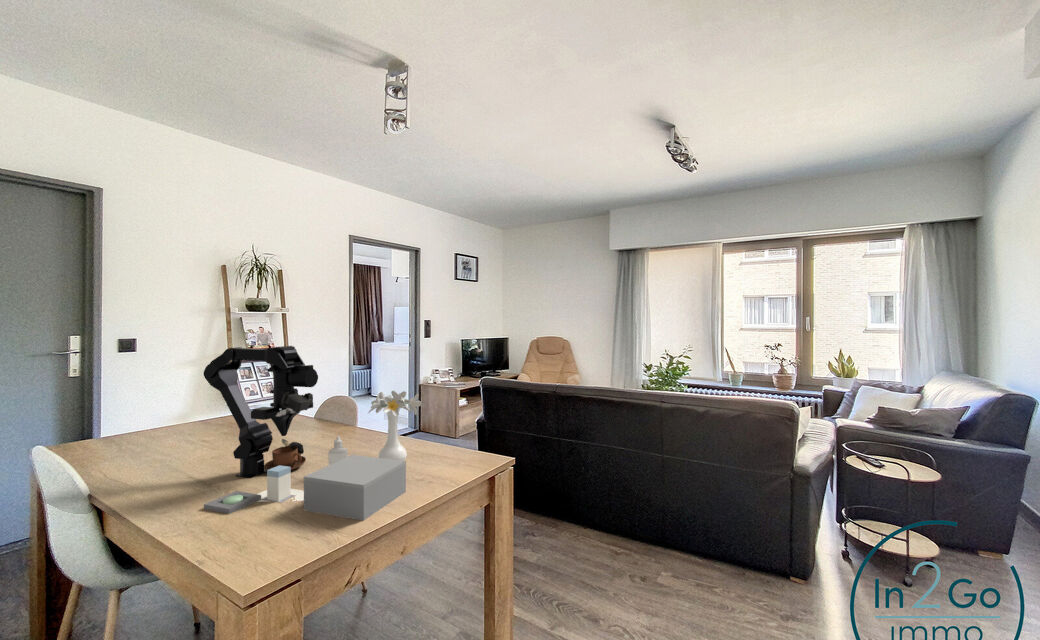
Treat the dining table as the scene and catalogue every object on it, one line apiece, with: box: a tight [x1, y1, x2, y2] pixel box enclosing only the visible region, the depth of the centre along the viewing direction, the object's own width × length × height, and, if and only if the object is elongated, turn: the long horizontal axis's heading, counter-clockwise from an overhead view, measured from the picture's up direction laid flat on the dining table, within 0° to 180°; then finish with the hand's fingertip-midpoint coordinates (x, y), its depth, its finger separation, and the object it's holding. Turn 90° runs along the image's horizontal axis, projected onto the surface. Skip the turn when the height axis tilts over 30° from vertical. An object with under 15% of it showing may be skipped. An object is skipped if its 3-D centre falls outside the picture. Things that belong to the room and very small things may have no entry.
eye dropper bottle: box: [328, 435, 349, 465], centre depth 137 cm, size 4×6×12 cm
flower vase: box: [367, 390, 423, 461], centre depth 145 cm, size 13×18×25 cm
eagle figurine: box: [281, 438, 306, 458], centre depth 145 cm, size 8×7×9 cm
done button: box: [223, 495, 243, 505], centre depth 113 cm, size 4×4×2 cm
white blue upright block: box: [266, 465, 292, 501], centre depth 117 cm, size 4×4×8 cm
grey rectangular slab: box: [303, 454, 407, 521], centre depth 115 cm, size 18×18×9 cm
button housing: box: [203, 490, 261, 515], centre depth 113 cm, size 9×9×2 cm
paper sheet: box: [256, 488, 304, 504], centre depth 117 cm, size 16×12×1 cm
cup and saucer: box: [264, 445, 307, 471], centre depth 141 cm, size 12×12×6 cm
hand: (283, 435), depth 133 cm, fingers closed
